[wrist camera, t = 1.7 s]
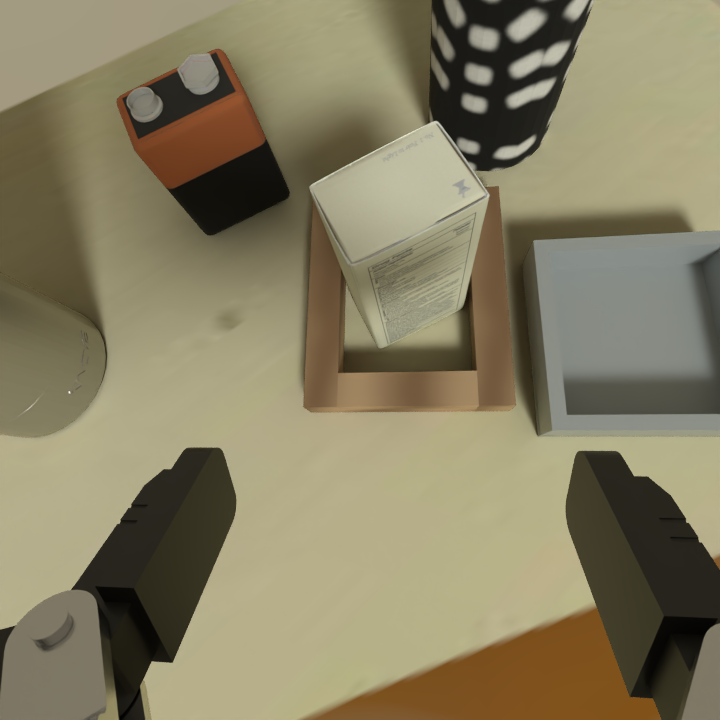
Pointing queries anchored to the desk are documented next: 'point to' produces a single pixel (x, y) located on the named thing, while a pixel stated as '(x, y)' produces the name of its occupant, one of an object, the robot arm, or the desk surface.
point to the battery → (204, 142)
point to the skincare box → (405, 230)
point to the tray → (625, 334)
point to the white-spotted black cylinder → (500, 73)
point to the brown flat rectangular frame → (411, 389)
